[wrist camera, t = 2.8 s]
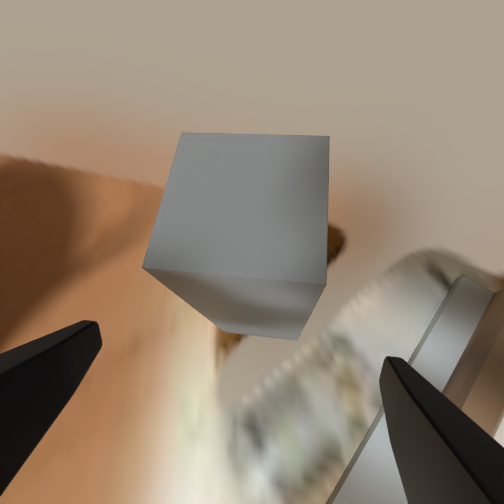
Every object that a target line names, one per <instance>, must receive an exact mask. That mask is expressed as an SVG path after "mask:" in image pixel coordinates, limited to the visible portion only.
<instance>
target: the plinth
mask: <svg viewBox="0 0 504 504" xmlns="http://www.w3.org/2000/svg"><path fill="white" fill-rule="evenodd" d="M408 364H409V365H410V366H412V367H413V368H414V369H415V370H416V371H417V372H418V373H419V374H421V375H422V376H423V377H424V378H425V379H426V380H427V381H429V382H430V383H431V384H432V385H433V386H434V387H435V388H437V389H438V390H439V391H440V392H441V393H442V394H443V395H445V396H446V397H447V398H448V399H449V400H450V401H451V402H453V403H454V404H455V405H456V406H457V407H458V408H459V409H461V410H462V411H463V412H464V413H465V414H466V415H467V416H469V417H470V418H471V419H472V420H473V421H474V422H475V423H477V424H478V425H479V426H480V427H481V428H482V429H483V430H484V431H486V432H487V433H488V434H489V435H490V436H491V437H492V438H494V439H495V440H496V441H497V442H498V443H499V444H500V445H502V446H503V447H504V289H503V290H501V291H498V292H495V293H493V292H491V291H490V290H488V289H486V288H484V287H483V286H481V285H479V284H477V283H476V282H474V281H472V280H470V279H469V278H467V277H465V276H461V277H459V278H457V279H456V280H455V282H454V284H453V286H452V287H451V289H450V291H449V293H448V294H447V296H446V298H445V299H444V301H443V303H442V305H441V306H440V308H439V310H438V312H437V313H436V315H435V317H434V318H433V320H432V322H431V324H430V325H429V327H428V329H427V330H426V332H425V334H424V336H423V337H422V339H421V341H420V343H419V344H418V346H417V348H416V349H415V351H414V353H413V355H412V356H411V358H410V360H409V362H408ZM326 504H408V502H407V498H406V495H405V492H404V488H403V485H402V481H401V478H400V475H399V471H398V468H397V464H396V461H395V458H394V454H393V451H392V447H391V443H390V439H389V434H388V429H387V423H386V418H385V413H384V407H383V406H382V408H381V410H380V412H379V413H378V415H377V417H376V418H375V420H374V422H373V424H372V425H371V427H370V429H369V431H368V432H367V434H366V436H365V437H364V439H363V441H362V443H361V444H360V446H359V448H358V450H357V451H356V453H355V455H354V456H353V458H352V460H351V462H350V463H349V465H348V467H347V469H346V470H345V472H344V474H343V475H342V477H341V479H340V481H339V482H338V484H337V486H336V488H335V489H334V491H333V493H332V494H331V496H330V498H329V500H328V501H327V503H326Z"/></svg>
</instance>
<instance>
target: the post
mask: <svg viewBox="0 0 504 504" xmlns="http://www.w3.org/2000/svg"><path fill="white" fill-rule="evenodd" d="M329 140H330V137H329V136H307V135H306V136H305V135H303V136H302V135H266V134H263V135H262V134H225V133H185V132H182V133H181V136H180V140H179V143H178V146H177V150H176V153H175V157H174V160H173V164H172V167H171V170H170V174H169V177H168V181H167V184H166V187H165V191H164V194H163V197H162V201H161V204H160V208H159V211H158V215H157V218H156V221H155V225H154V228H153V232H152V235H151V238H150V242H149V245H148V249H147V252H146V255H145V259H144V262H143V266H142V268H143V269H144V270H146V271H147V272H148V273H149V274H151V275H152V276H153V277H155V278H156V279H157V280H158V281H160V282H161V283H162V284H164V285H165V286H166V287H167V288H169V289H170V290H171V291H173V292H174V293H175V294H176V295H178V296H179V297H180V298H182V299H183V300H184V301H185V302H187V303H188V304H189V305H191V306H192V307H193V308H194V309H196V310H197V311H198V312H200V313H201V314H202V315H203V316H205V317H206V318H207V319H209V320H210V321H211V322H212V323H214V324H215V325H216V326H218V327H219V328H220V329H221V330H223V331H224V332H228V333H237V334H245V335H254V336H262V337H271V338H279V339H288V340H296V341H297V339H298V337H299V336H300V333H301V332H302V330H303V328H304V326H305V324H306V322H307V320H308V318H309V317H310V315H311V313H312V311H313V309H314V307H315V305H316V303H317V301H318V299H319V298H320V296H321V294H322V292H323V290H324V288H325V286H326V278H327V232H328V186H329V185H328V184H329Z"/></svg>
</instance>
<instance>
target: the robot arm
mask: <svg viewBox="0 0 504 504" xmlns="http://www.w3.org/2000/svg"><path fill="white" fill-rule="evenodd" d="M101 347H102V338H101V333H100V329H99V325H98V323H97V322H95V321H89V320H83V321H80V322H78V323H75V324H73V325H70V326H68V327H65V328H63V329H60V330H58V331H55V332H53V333H51V334H48V335H46V336H43V337H41V338H38V339H36V340H33V341H31V342H28V343H26V344H23V345H21V346H18V347H16V348H13V349H11V350H9V351H6V352H4V353H1V354H0V496H1V495H2V494H3V492H4V491H5V489H6V488H7V487H8V485H9V484H10V482H11V481H12V480H13V478H14V477H15V475H16V474H17V473H18V471H19V470H20V468H21V467H22V466H23V464H24V463H25V461H26V460H27V459H28V457H29V456H30V454H31V453H32V452H33V450H34V449H35V448H36V446H37V445H38V443H39V442H40V441H41V439H42V438H43V436H44V435H45V434H46V432H47V431H48V429H49V428H50V427H51V425H52V424H53V422H54V421H55V420H56V418H57V417H58V415H59V414H60V413H61V411H62V410H63V408H64V407H65V406H66V404H67V403H68V401H69V400H70V399H71V397H72V396H73V394H74V393H75V391H76V390H77V388H78V386H79V385H80V383H81V381H82V380H83V378H84V376H85V375H86V373H87V371H88V370H89V368H90V366H91V364H92V363H93V361H94V359H95V358H96V356H97V354H98V353H99V351H100V349H101ZM379 385H380V391H381V396H382V402H383V407H384V413H385V418H386V423H387V429H388V434H389V439H390V443H391V447H392V451H393V454H394V458H395V461H396V464H397V468H398V471H399V475H400V478H401V481H402V485H403V488H404V492H405V495H406V498H407V502H408V504H504V447H503V446H502V445H500V444H499V443H498V442H497V441H496V440H495V439H494V438H492V437H491V436H490V435H489V434H488V433H487V432H486V431H484V430H483V429H482V428H481V427H480V426H479V425H478V424H477V423H475V422H474V421H473V420H472V419H471V418H470V417H469V416H467V415H466V414H465V413H464V412H463V411H462V410H461V409H459V408H458V407H457V406H456V405H455V404H454V403H453V402H451V401H450V400H449V399H448V398H447V397H446V396H445V395H443V394H442V393H441V392H440V391H439V390H438V389H437V388H435V387H434V386H433V385H432V384H431V383H430V382H429V381H427V380H426V379H425V378H424V377H423V376H422V375H421V374H419V373H418V372H417V371H416V370H415V369H414V368H413V367H412V366H410V365H409V364H408V363H407V362H406V361H405V360H403V359H402V358H399V357H391V356H387V357H386V358H385V359H384V363H383V366H382V370H381V374H380V379H379Z"/></svg>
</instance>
